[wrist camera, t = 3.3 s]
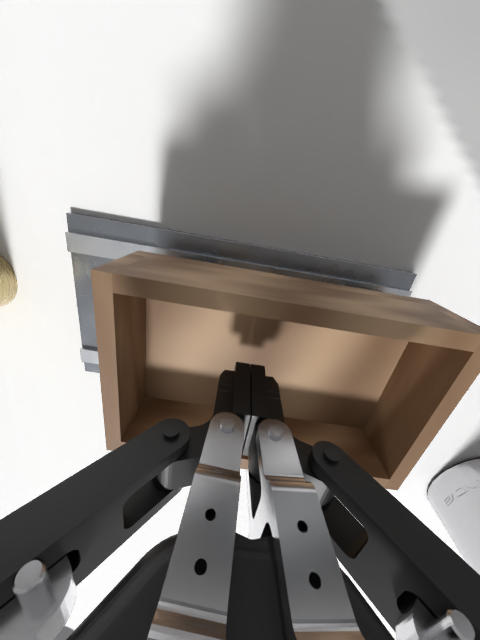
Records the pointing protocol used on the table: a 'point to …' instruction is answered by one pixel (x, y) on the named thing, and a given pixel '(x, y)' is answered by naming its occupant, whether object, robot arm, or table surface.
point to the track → (125, 238)
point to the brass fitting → (7, 283)
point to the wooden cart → (280, 355)
